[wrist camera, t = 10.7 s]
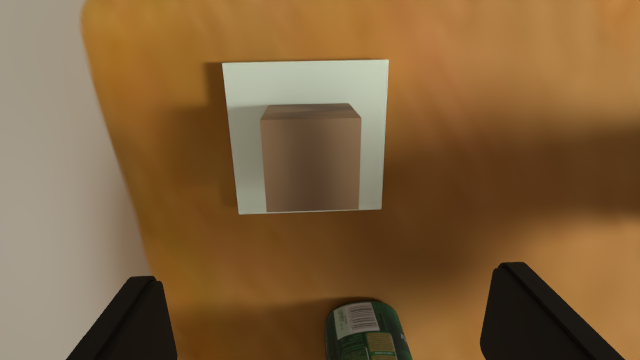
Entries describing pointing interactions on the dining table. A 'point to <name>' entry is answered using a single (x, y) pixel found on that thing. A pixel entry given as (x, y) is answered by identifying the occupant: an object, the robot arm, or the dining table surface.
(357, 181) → the walnut cube
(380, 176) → the plate
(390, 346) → the coffee jar
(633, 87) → the dining table surface
